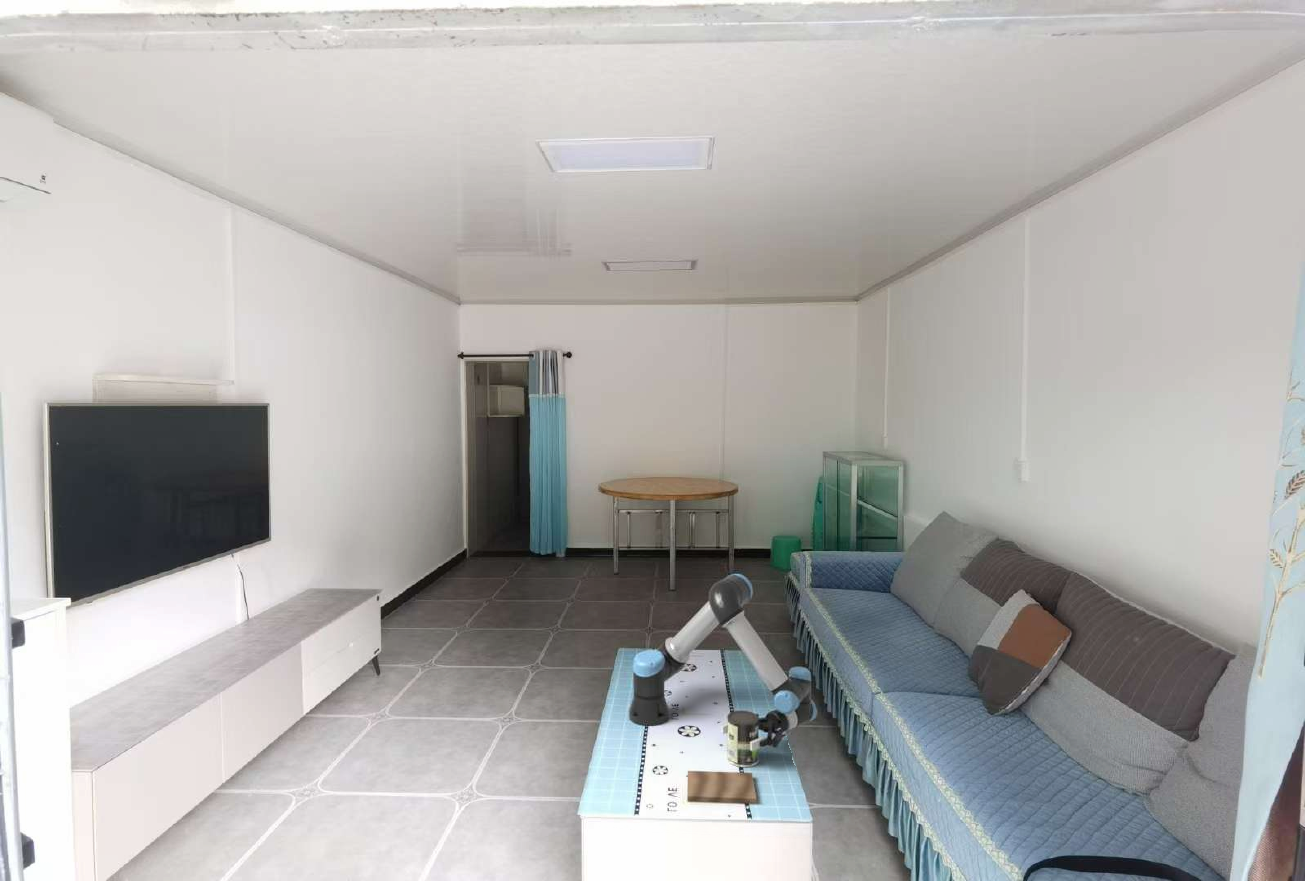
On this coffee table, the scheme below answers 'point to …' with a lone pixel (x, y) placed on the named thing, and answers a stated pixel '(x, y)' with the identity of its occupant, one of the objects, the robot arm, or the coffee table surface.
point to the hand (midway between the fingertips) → (736, 738)
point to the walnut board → (721, 787)
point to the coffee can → (742, 738)
